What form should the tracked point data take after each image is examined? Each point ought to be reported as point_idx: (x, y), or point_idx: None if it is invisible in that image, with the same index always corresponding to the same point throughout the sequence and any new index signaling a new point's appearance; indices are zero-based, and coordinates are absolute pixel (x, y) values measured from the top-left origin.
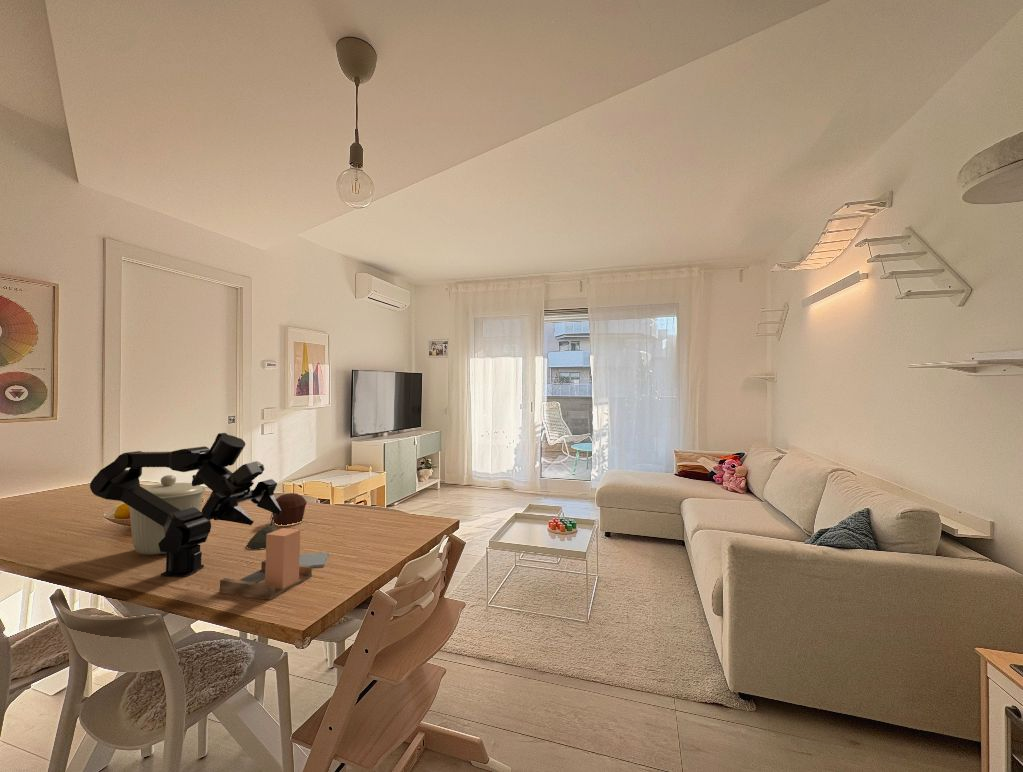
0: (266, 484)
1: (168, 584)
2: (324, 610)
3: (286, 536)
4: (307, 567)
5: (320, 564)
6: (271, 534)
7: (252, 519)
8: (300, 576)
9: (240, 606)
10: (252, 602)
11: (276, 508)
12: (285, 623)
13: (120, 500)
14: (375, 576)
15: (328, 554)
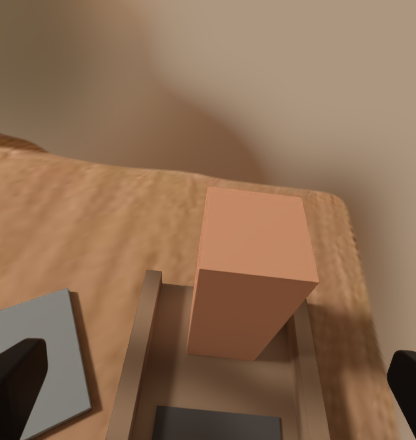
0: None
1: None
2: (283, 191)
3: (288, 199)
4: (159, 275)
5: (68, 297)
6: (310, 256)
7: (413, 360)
8: (166, 302)
9: (350, 351)
10: (321, 336)
11: (7, 394)
12: (343, 221)
13: None
14: (134, 169)
15: None
